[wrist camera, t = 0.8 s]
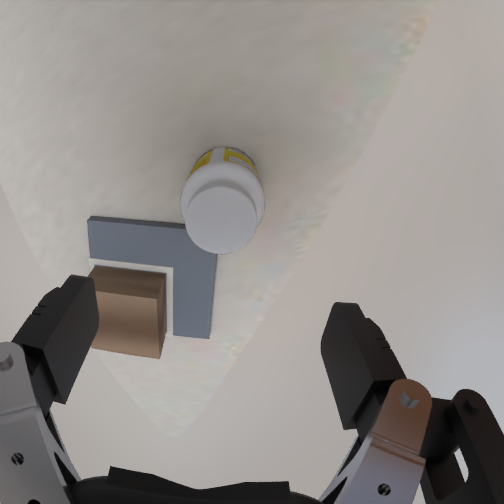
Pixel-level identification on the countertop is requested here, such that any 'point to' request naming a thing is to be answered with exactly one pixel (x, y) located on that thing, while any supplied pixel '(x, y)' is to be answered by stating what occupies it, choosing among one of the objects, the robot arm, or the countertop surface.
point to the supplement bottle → (222, 201)
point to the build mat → (160, 266)
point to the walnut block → (130, 311)
